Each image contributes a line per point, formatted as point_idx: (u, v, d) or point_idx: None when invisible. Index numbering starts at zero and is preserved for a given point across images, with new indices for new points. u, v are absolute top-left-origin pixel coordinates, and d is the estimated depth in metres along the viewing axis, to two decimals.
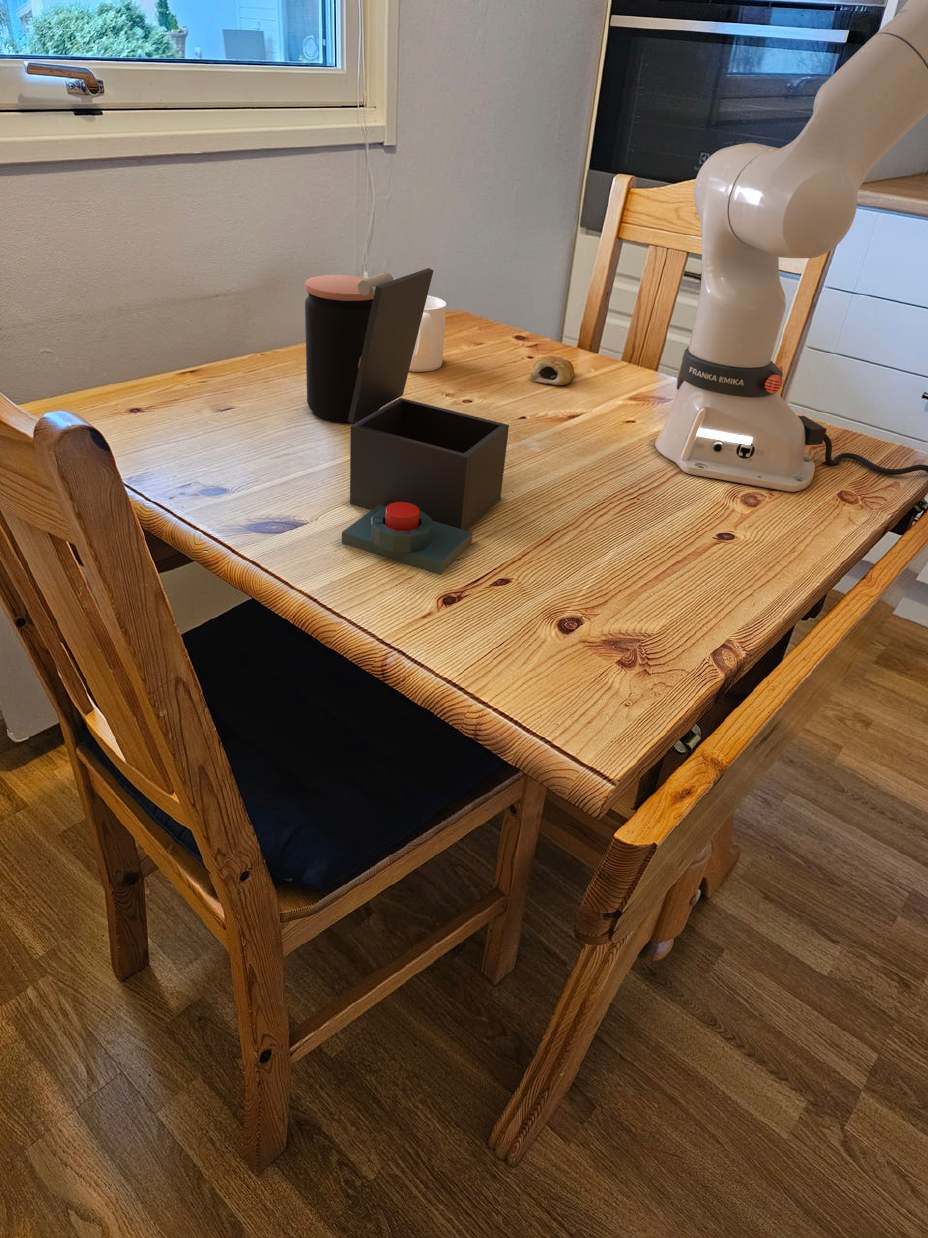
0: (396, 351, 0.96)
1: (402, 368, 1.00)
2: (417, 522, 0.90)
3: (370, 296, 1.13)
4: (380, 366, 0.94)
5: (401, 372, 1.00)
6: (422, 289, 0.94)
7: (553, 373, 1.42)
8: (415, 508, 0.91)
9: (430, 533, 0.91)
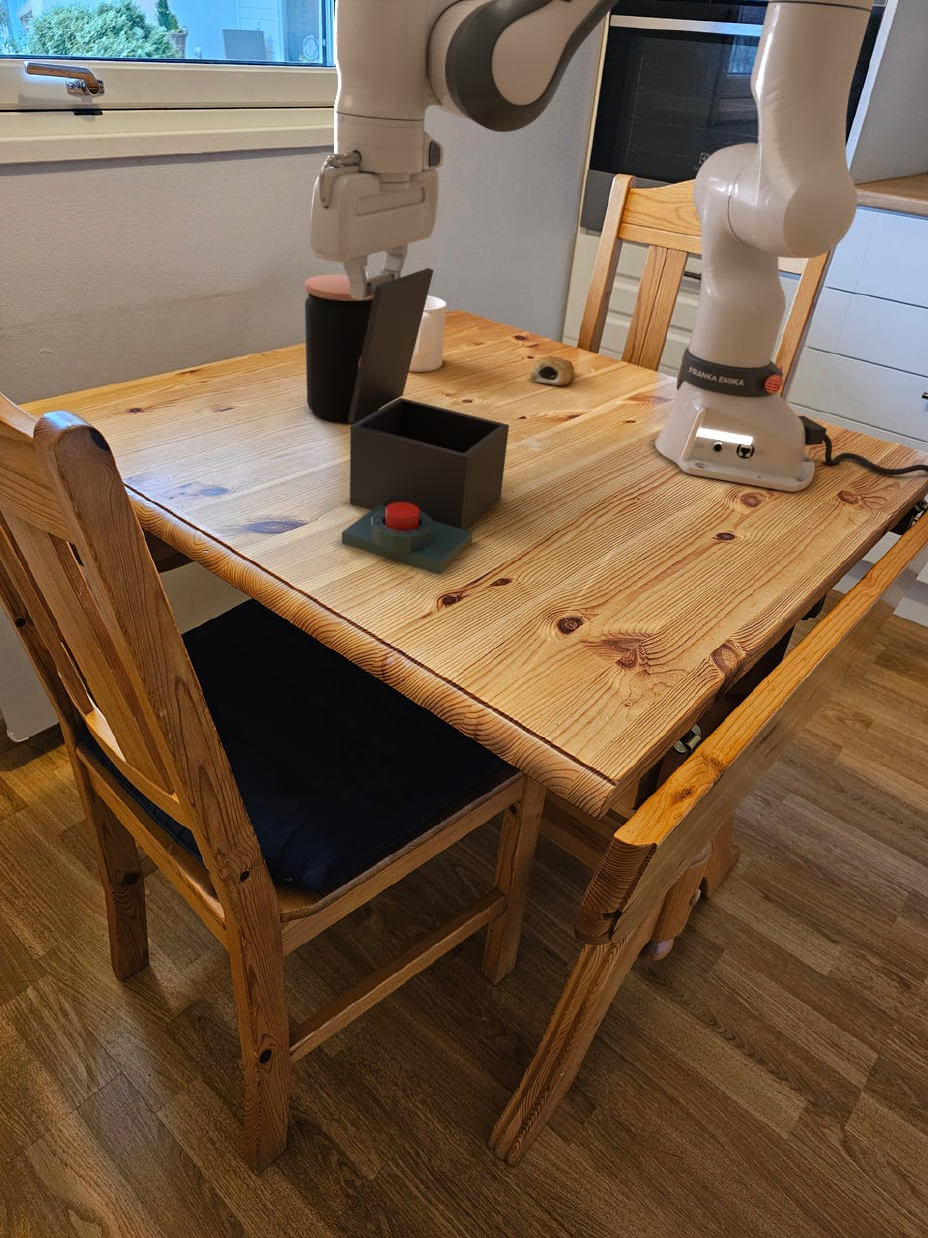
0: (396, 351, 0.96)
1: (402, 368, 1.00)
2: (417, 522, 0.90)
3: (370, 296, 1.13)
4: (380, 366, 0.94)
5: (401, 372, 1.00)
6: (422, 289, 0.94)
7: (553, 373, 1.42)
8: (415, 508, 0.91)
9: (430, 533, 0.91)
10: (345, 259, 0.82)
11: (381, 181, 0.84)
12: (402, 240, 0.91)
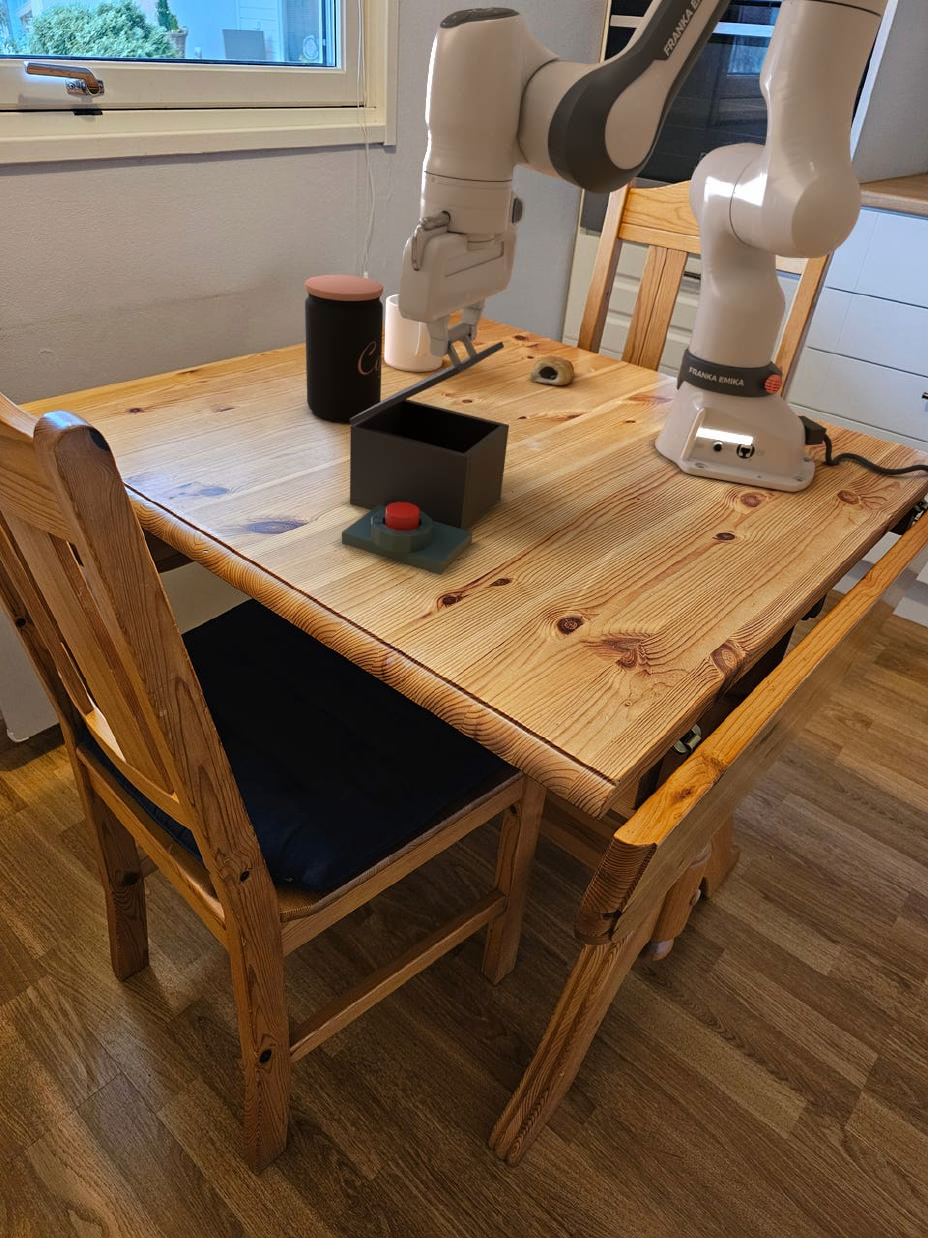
0: None
1: None
2: (417, 522, 0.90)
3: (370, 296, 1.13)
4: None
5: None
6: None
7: (553, 373, 1.42)
8: (415, 508, 0.91)
9: (430, 533, 0.91)
10: (433, 320, 0.82)
11: (468, 240, 0.83)
12: (482, 295, 0.90)
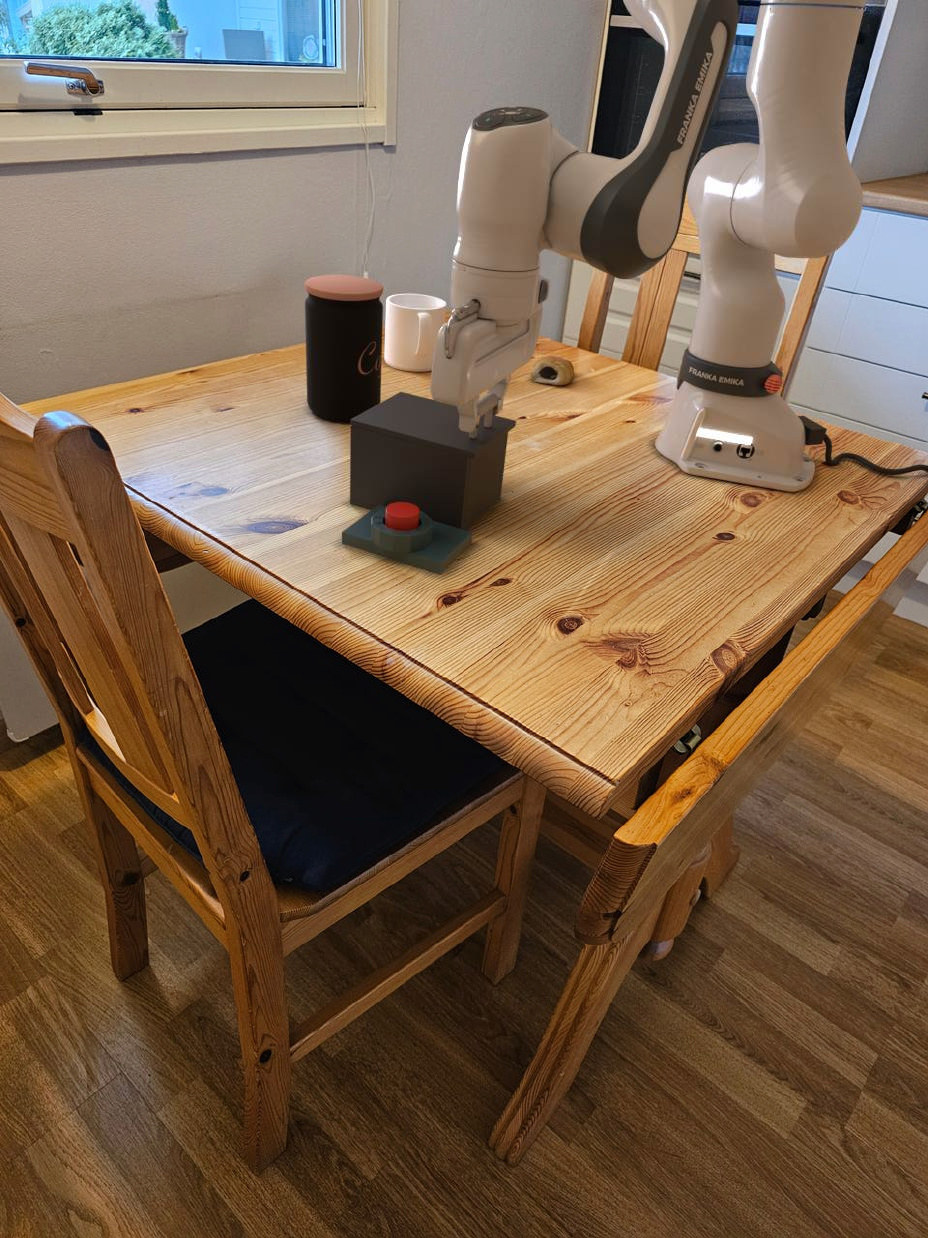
0: None
1: None
2: (417, 522, 0.90)
3: (370, 296, 1.13)
4: None
5: None
6: None
7: (553, 373, 1.42)
8: (415, 508, 0.91)
9: (430, 533, 0.91)
10: (464, 404, 0.84)
11: (497, 325, 0.86)
12: (509, 372, 0.93)
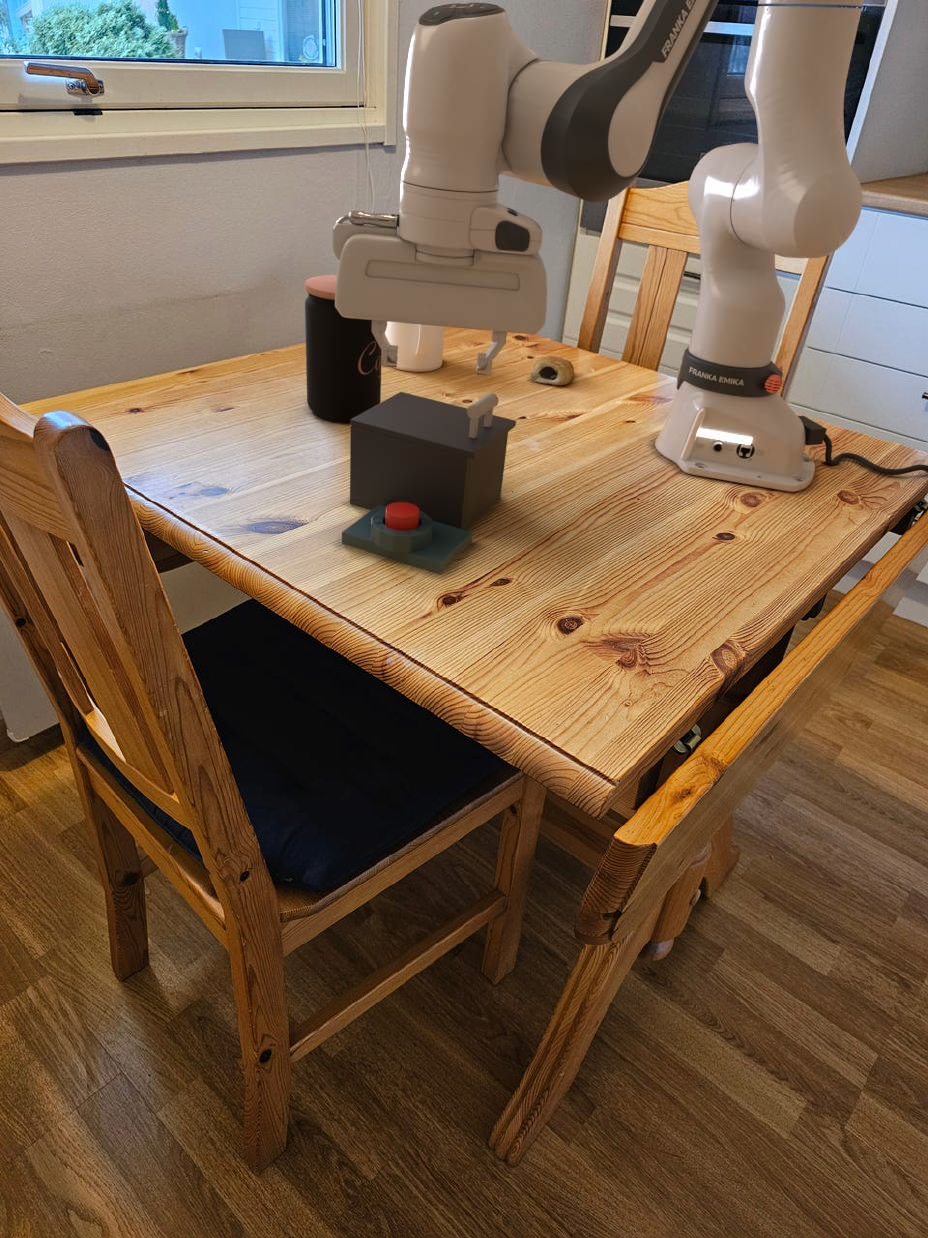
0: None
1: None
2: (417, 522, 0.90)
3: None
4: None
5: None
6: None
7: (553, 373, 1.42)
8: (415, 508, 0.91)
9: (430, 533, 0.91)
10: (345, 315, 0.81)
11: (416, 250, 0.77)
12: (464, 322, 0.81)
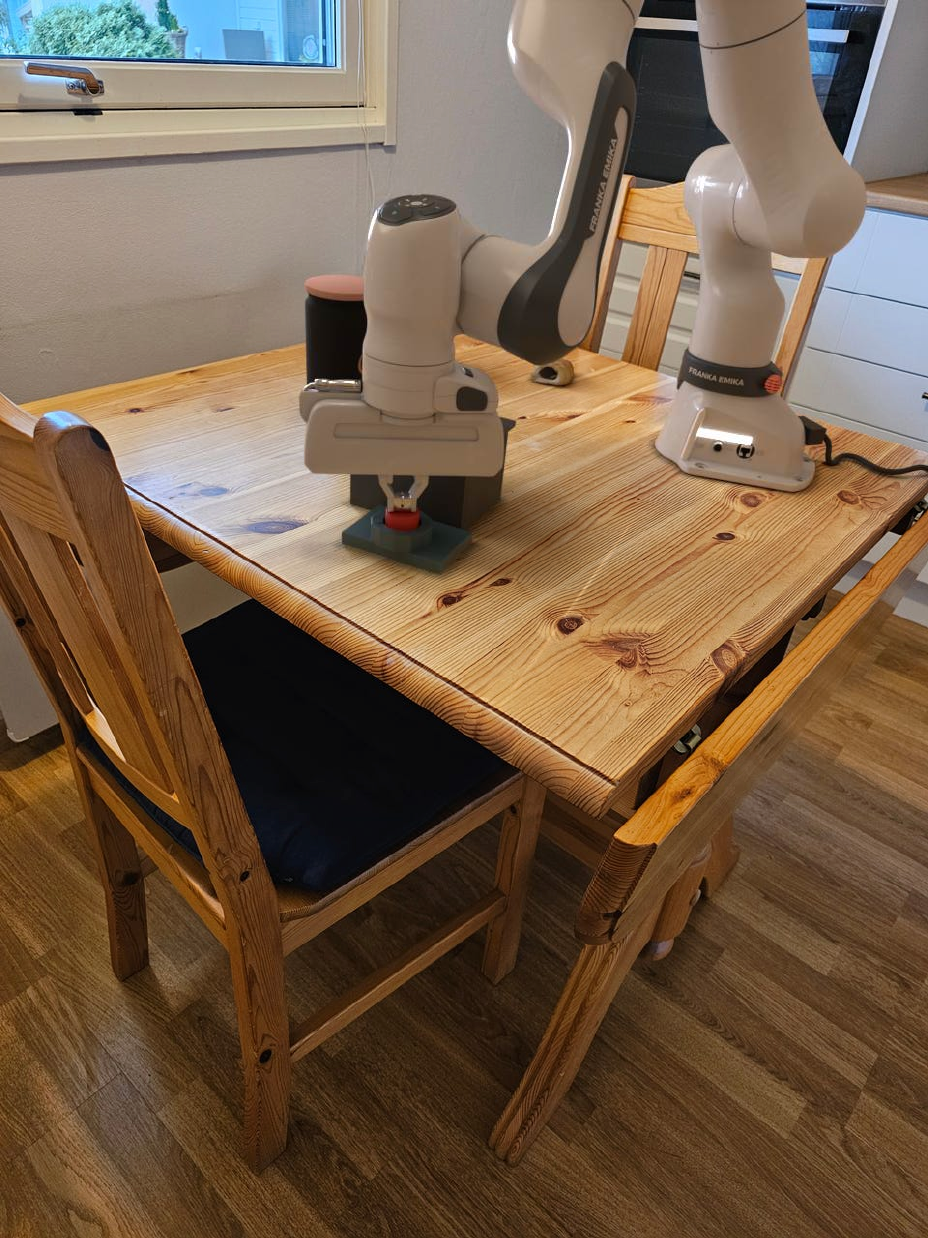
0: None
1: None
2: (417, 523, 0.90)
3: None
4: None
5: None
6: None
7: (553, 373, 1.42)
8: None
9: (430, 533, 0.91)
10: (315, 472, 0.85)
11: (381, 413, 0.82)
12: (427, 471, 0.86)
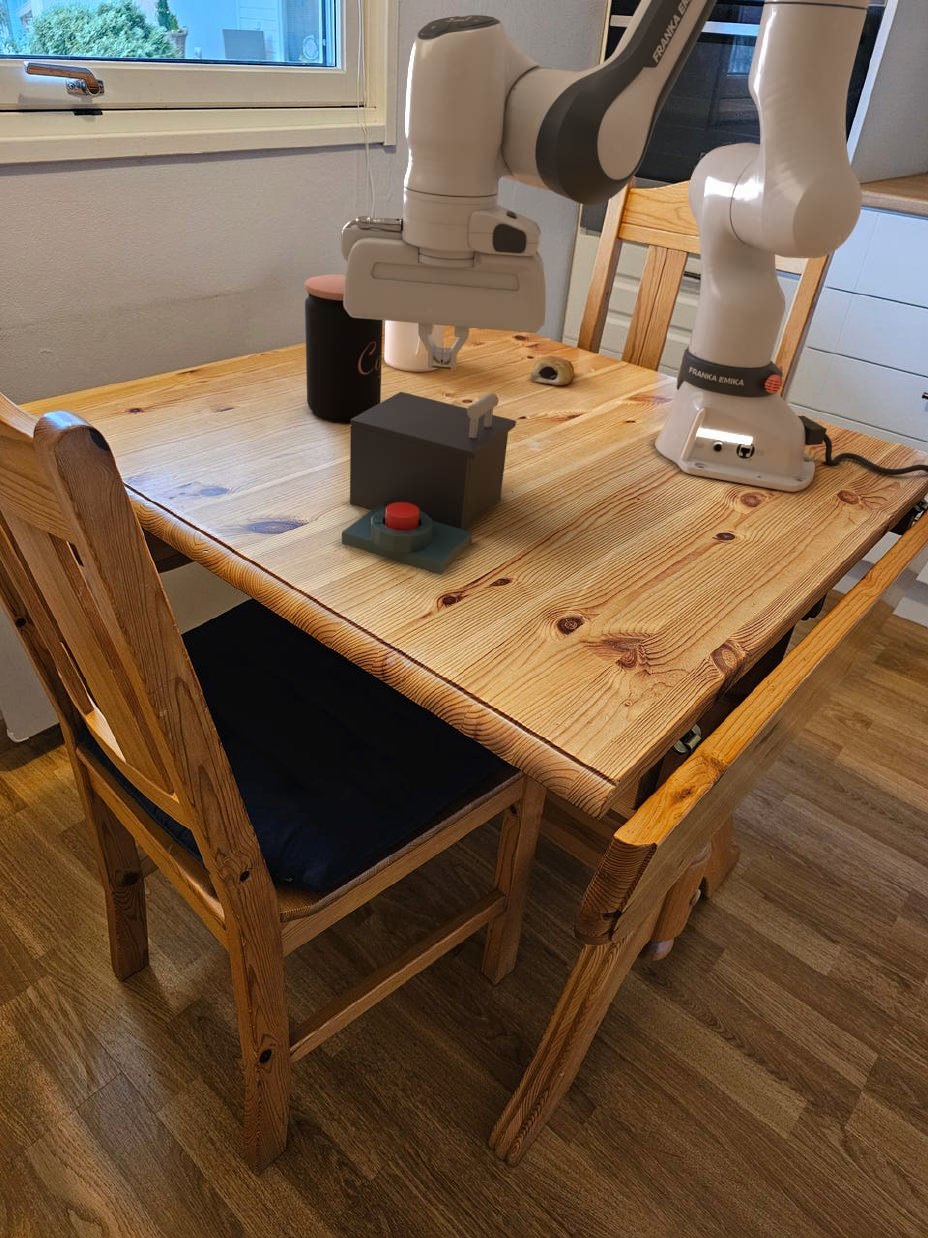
0: None
1: None
2: (417, 522, 0.90)
3: None
4: None
5: None
6: None
7: (553, 373, 1.42)
8: (415, 508, 0.91)
9: (430, 533, 0.91)
10: (353, 315, 0.85)
11: (419, 252, 0.81)
12: (466, 321, 0.84)
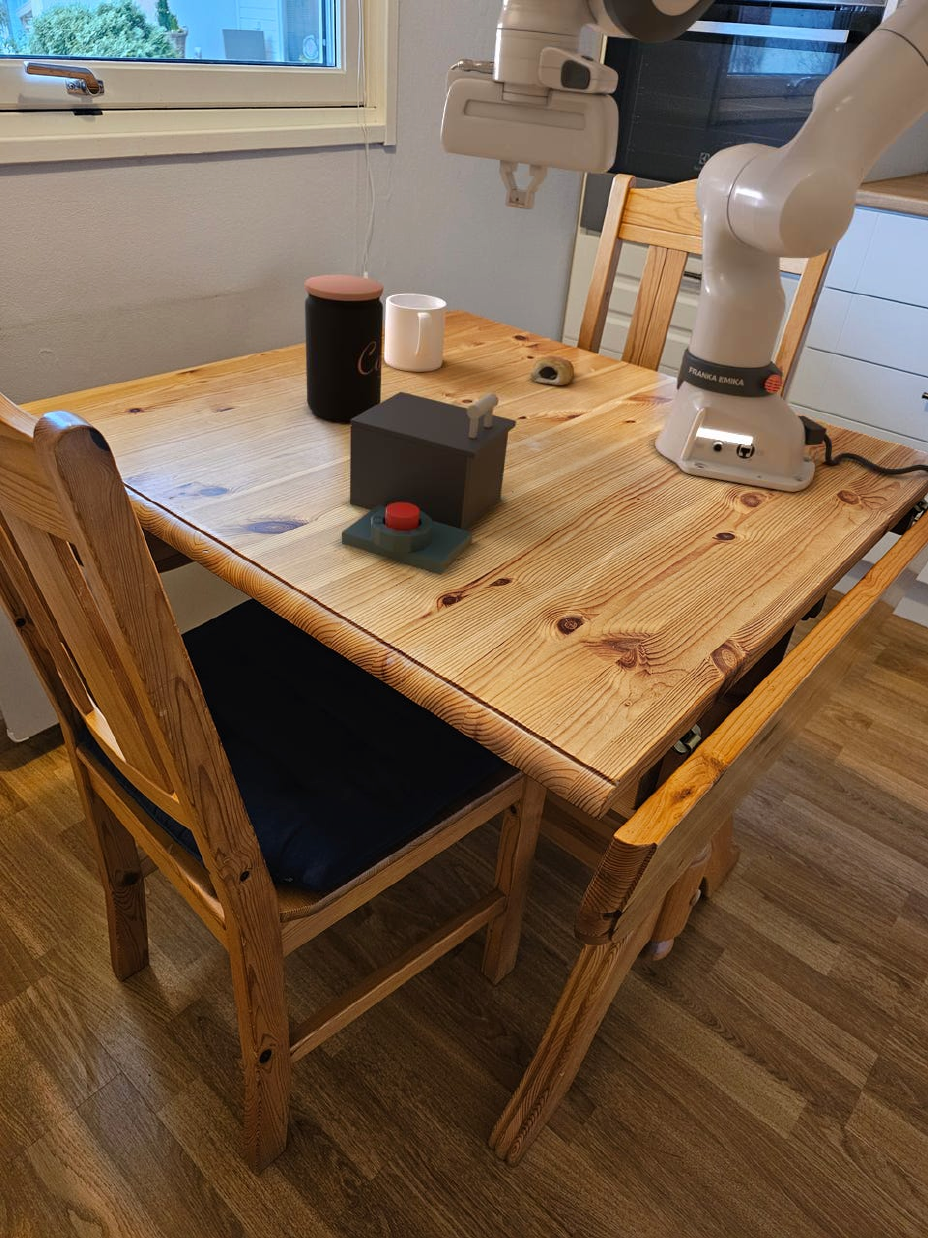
0: None
1: None
2: (417, 522, 0.90)
3: (370, 296, 1.13)
4: None
5: None
6: None
7: (553, 373, 1.42)
8: (415, 508, 0.91)
9: (430, 533, 0.91)
10: (446, 149, 0.98)
11: (503, 90, 0.92)
12: (537, 159, 0.94)
